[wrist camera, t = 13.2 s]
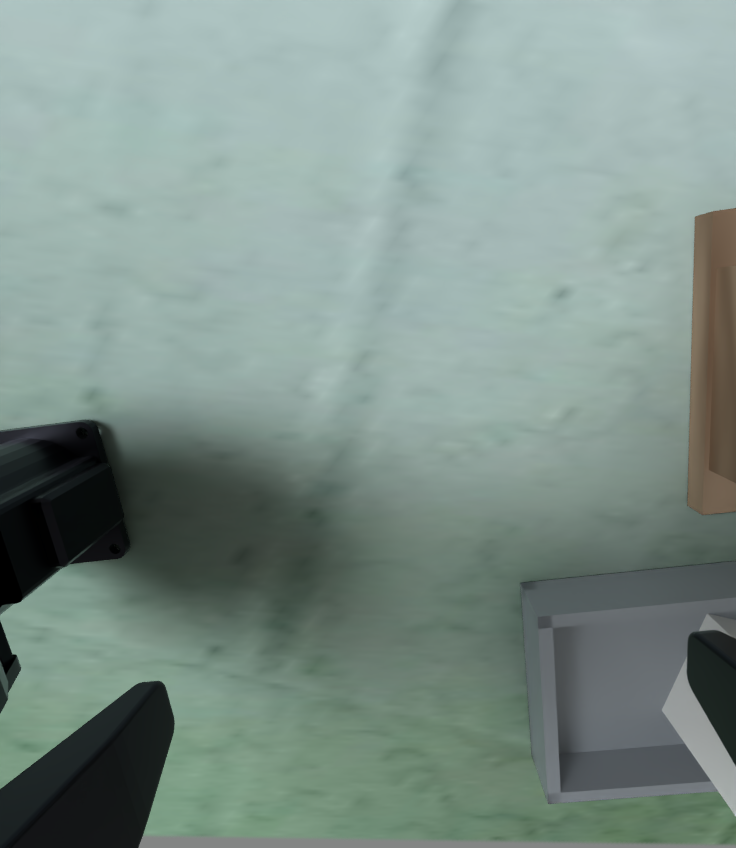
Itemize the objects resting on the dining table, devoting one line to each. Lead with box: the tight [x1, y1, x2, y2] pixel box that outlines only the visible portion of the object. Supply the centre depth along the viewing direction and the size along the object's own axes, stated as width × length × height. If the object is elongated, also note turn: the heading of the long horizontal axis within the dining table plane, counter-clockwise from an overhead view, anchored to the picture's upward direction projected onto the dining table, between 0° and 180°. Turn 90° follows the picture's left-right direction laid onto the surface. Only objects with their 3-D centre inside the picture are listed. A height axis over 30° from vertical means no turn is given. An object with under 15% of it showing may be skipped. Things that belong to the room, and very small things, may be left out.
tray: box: [520, 561, 736, 804], centre depth 22 cm, size 16×10×2 cm, turn 98°
